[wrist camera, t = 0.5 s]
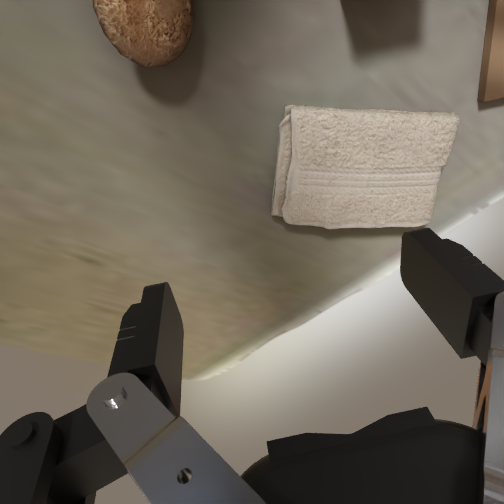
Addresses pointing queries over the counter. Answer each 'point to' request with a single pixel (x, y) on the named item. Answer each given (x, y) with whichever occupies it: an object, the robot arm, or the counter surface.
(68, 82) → the counter surface
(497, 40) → the post base
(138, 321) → the robot arm
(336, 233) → the counter surface
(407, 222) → the washcloth
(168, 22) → the brown round lump
